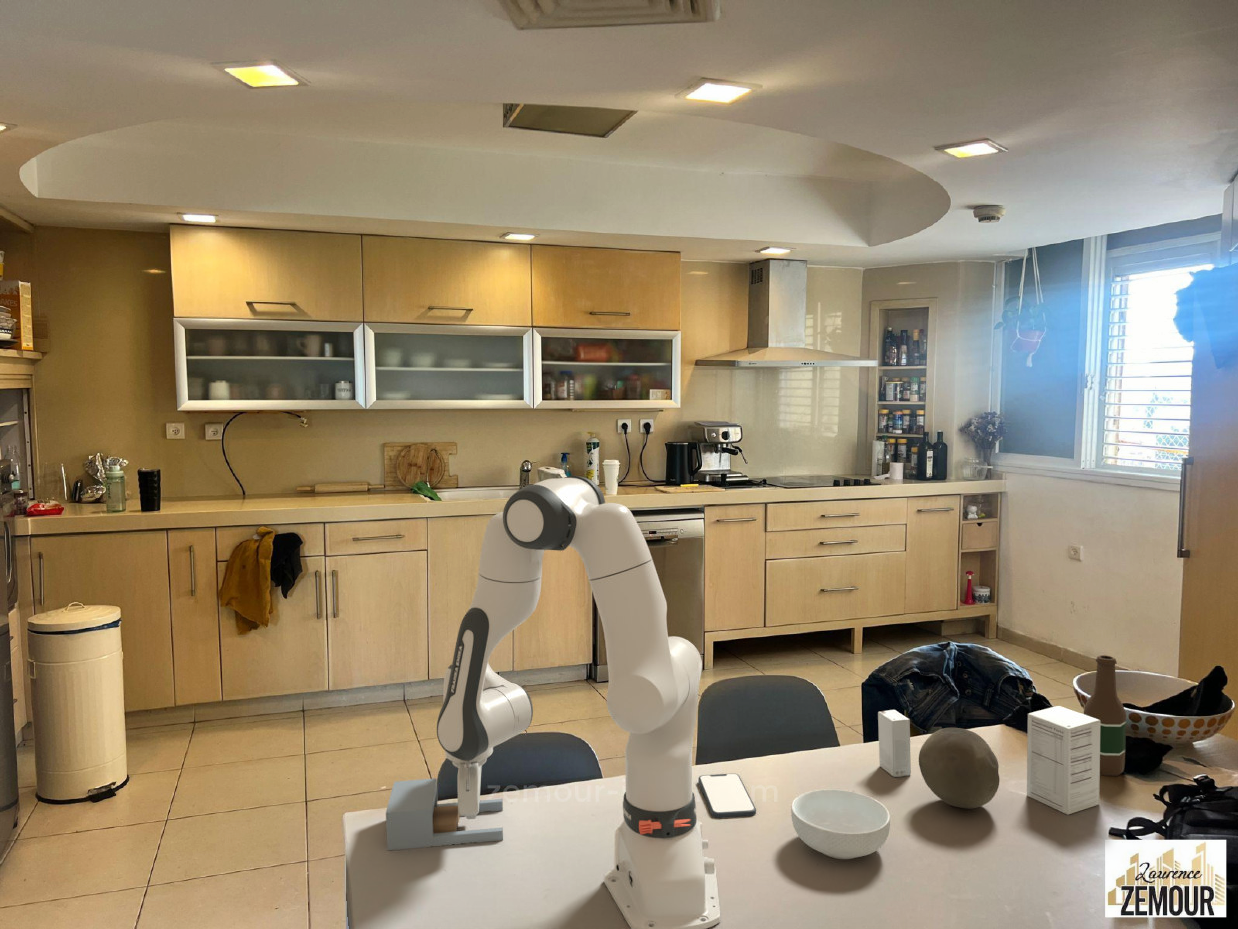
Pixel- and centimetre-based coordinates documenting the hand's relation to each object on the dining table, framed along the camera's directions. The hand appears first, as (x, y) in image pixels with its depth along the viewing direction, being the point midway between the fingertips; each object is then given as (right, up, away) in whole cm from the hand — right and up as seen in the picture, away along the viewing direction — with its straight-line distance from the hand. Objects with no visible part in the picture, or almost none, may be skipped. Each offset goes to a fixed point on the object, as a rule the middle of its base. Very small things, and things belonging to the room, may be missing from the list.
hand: (471, 815), depth 162 cm
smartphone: (+49, -1, +9) cm, 50 cm away
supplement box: (+114, 0, +6) cm, 114 cm away
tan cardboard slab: (-8, -3, -1) cm, 8 cm away
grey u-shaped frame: (-4, -2, -1) cm, 5 cm away
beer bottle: (+129, +2, +19) cm, 131 cm away
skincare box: (+86, +1, +20) cm, 88 cm away
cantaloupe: (+93, 0, +4) cm, 93 cm away
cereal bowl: (+67, -2, -10) cm, 68 cm away
